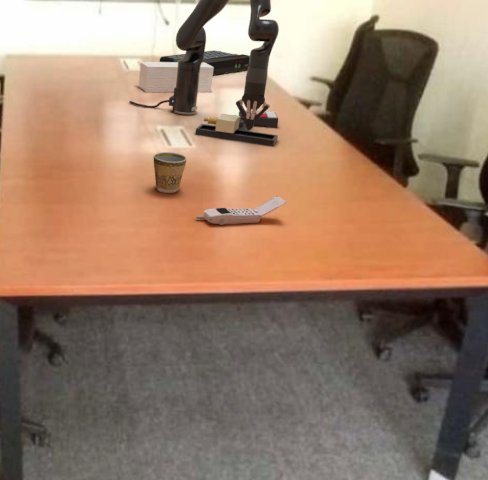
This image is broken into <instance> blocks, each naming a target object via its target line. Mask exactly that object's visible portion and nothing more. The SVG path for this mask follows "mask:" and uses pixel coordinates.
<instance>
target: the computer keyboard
mask: <svg viewBox="0 0 488 480" xmlns="http://www.w3.org/2000/svg"><path fill="white" fill-rule="evenodd" d="M184 55H185V53H181V54H172V55H164V56H161V57H160V58H159V62H178V61H179V60H180V59H181V58H182V57H183V56H184ZM249 58H250V54H244V53H243V54H239V53H230V52H226V51H225V52H224V51H221V50H207V51H206V50H205V51H204V58H203V63H207V64H209V65H210V66H212V67H214V69H213V76H214V75H221V74H229V73H234V72H241V71H247V70H248V65H249Z"/></svg>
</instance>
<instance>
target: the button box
mask: <svg viewBox="0 0 488 480" xmlns="http://www.w3.org/2000/svg"><path fill="white" fill-rule="evenodd" d="M238 129H239V130H246V131H250V130H249V129H247V127H246V124H244V121H243V120H241V119H240V122H239V128H238Z"/></svg>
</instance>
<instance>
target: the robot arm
mask: <svg viewBox="0 0 488 480" xmlns="http://www.w3.org/2000/svg"><path fill="white" fill-rule="evenodd" d="M229 2H230V0H199V1H198V2H197V4H196V5H195V7H194V9H193V10H192V11H191V13H190V14H189V15H188V17H187V18H186V19H185V20H184V22H183V23H182V24H181V26H180V27H179V28H178V30H177V33H176V35H175V45H176V47H177V48H178V50H180V51H183V52H185V53H184V54H185V55H184V56H183V57H182V58H181V59H180V60H179V61H178V68H177V79H176V87H175V88H174V92H173V94H172V95H171V96H170V97H168V99H165V100H161V101H159V102H158V103H156V104H155V105H147V104H142V103H137V102H134V101H132V100H129V104H132V105H135V106H138V107H143V108H146V109H147V108H148V109H156V108H158V107H159V106H160V105H162V104H166V103H168V106H169V107H171V108H172V109H171V112H172V113H174V114H177V115H182V116H193V115H196V113H197V110H198V106H197V102H198V93H199V92H198V85H199V75H200V67H201V64H202V62H203V58H204V52H206V44H207V33H206V29H205V28H204V26H205V25H206V24H208V22H209V21H211V20H212V19H214V17H216V16H217V15H218V14H219V13H220V12H222V11H223V10H224V8H225V7H226V6H227V5H228V3H229ZM249 6H250V14H249V15H250V16H249V17H250V18H249V23H248V29H247V35H248V38H249V39H250V41H252V42H261V43H262V42H263V43H262V45H261V46H259V47H255V48H252V49H250V53H249V56H250V58H249V65H248V70H246V75H245V82H244V90H243V95H242V96H241V98H240V99H238V100H237V101H236V102H235V106H236V107H237V109H238V112H239V111H240V113H241V114H242V116H243V117H246V127H247V129H249V130H248V131H252V129H254V127H255V126H254V121H255V119H258V118H259V117H260V116H261V115H262V114H263V113H264V112H266V111H267V110H268V109H270V106H271V105H270V104H268V102H266V98H265V95H266V94H265V93H266V88H267V82H268V74H269V73H268V71H269V63H270V56H271V53H272V52H273V51H272V50H273V48H274V45H275V43H276V40H277V38H278V36H279V32H280V31H279V29H280V28H279V24H278V22H277V20H276V19H266V18H265V19H264V17H266V16H268V15H269V14H270V13H271V11H272V5H271V0H249ZM261 18H263V19H261ZM244 106H245V107H244ZM245 108H246V109H245ZM260 108H262V109H261V110H259V109H260ZM245 110H247V113H246V111H245ZM258 110H259V111H260V112H259V113H258V114H257V115H256V112H257V111H258ZM251 111H252V115H251Z"/></svg>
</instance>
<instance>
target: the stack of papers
mask: <svg viewBox="0 0 488 480" xmlns="http://www.w3.org/2000/svg"><path fill="white" fill-rule="evenodd" d="M177 68H178V62H160V61H140V63H139V78H138V87H139V88H140V89H141V90H143V91H144V92H145V93H174V88H175V87H176V79H177ZM213 69H214V67H212V66H210V65H209V64H207V63H203V62H202V64H201V67H200V75H199V85H198V93H211V92H212V85H213V78H214V77H213V76H214V75H213Z"/></svg>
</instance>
